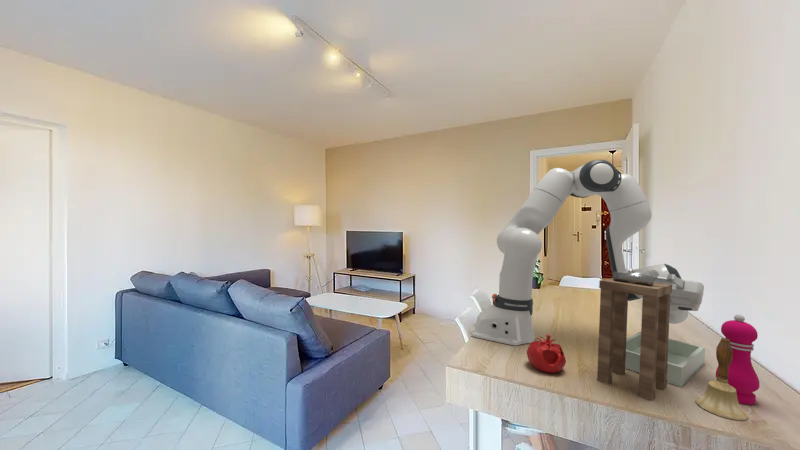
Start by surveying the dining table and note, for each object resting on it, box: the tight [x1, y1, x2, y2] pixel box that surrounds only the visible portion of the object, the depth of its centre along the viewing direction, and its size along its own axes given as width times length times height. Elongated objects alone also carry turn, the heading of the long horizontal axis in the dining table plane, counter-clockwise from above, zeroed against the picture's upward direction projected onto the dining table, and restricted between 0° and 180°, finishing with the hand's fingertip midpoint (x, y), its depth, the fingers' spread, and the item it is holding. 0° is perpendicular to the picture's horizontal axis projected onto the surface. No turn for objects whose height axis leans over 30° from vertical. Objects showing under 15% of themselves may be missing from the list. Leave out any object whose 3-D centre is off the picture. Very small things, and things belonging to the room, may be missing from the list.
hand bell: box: [694, 337, 749, 422], centre depth 70 cm, size 8×8×16 cm
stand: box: [596, 277, 672, 402], centre depth 81 cm, size 12×12×26 cm
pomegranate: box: [526, 334, 567, 374], centre depth 88 cm, size 10×10×9 cm
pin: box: [612, 270, 659, 286], centre depth 84 cm, size 17×8×2 cm, turn 126°
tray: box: [625, 331, 706, 388], centre depth 94 cm, size 25×16×5 cm, turn 126°
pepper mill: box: [715, 314, 761, 406], centre depth 76 cm, size 7×7×20 cm
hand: (648, 273), depth 87 cm, fingers open, 8 cm apart
